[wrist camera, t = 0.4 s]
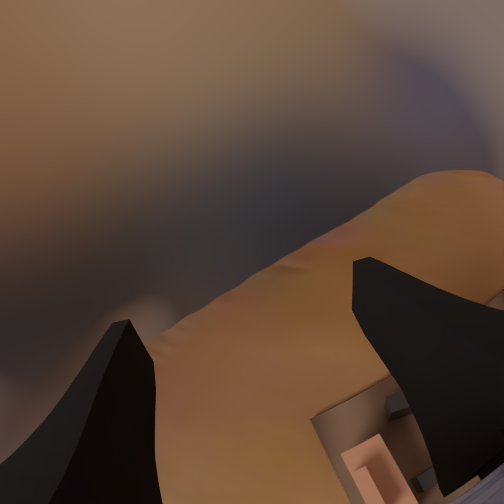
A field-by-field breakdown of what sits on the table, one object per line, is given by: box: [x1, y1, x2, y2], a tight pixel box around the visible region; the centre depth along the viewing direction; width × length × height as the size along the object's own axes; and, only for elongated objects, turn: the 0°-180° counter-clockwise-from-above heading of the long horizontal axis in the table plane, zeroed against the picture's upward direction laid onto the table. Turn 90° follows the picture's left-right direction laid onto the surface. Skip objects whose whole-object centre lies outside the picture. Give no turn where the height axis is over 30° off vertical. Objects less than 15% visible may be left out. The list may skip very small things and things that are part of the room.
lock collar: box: [341, 434, 418, 504], centre depth 15 cm, size 3×8×6 cm, turn 18°
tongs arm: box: [384, 391, 413, 422], centre depth 19 cm, size 14×2×3 cm, turn 92°
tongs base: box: [410, 465, 438, 493], centre depth 16 cm, size 19×4×4 cm, turn 107°
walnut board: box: [310, 289, 504, 504], centre depth 19 cm, size 25×14×1 cm, turn 107°
